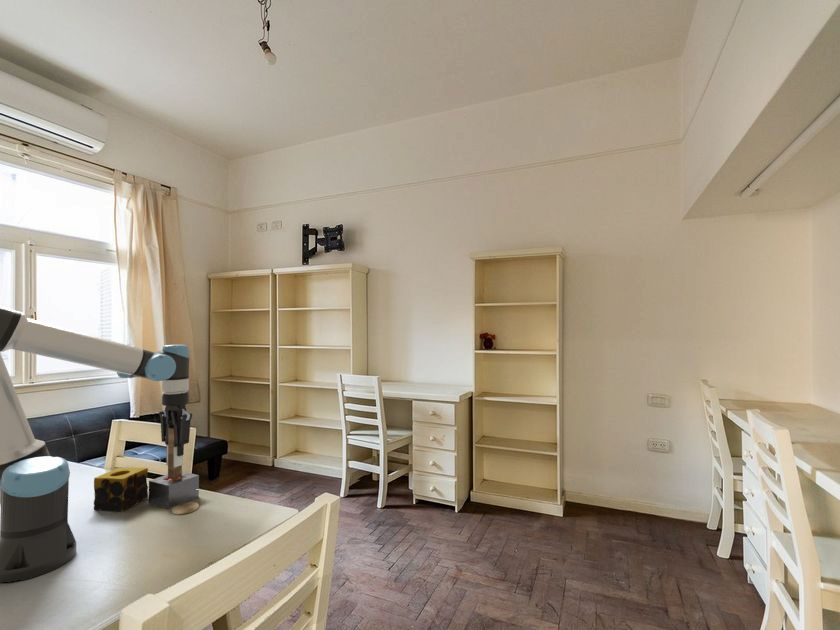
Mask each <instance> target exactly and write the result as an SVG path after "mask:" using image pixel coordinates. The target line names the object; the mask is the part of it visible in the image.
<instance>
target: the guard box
mask: <svg viewBox="0 0 840 630" xmlns="http://www.w3.org/2000/svg"><path fill="white" fill-rule="evenodd" d="M180 478H181V479H178V480H175V481H172V482H171V481H167V480H168V479H169V478H168V474H166V475H165V474H164V475H163V476H159V477H156V478H153V479H150V480H148V504H150V505H153V506H156V507H161V508H164V509H166V510H167V509H168V510H169V509H173V508H174V507H176V506H178V505H180V504H184V503H188V502H189V501H192V500H194V499H196V498H199V495H200V475H199V474H195V473H192V472H187V471H183V470H182V477H180ZM196 489H199V490H196Z"/></svg>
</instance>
